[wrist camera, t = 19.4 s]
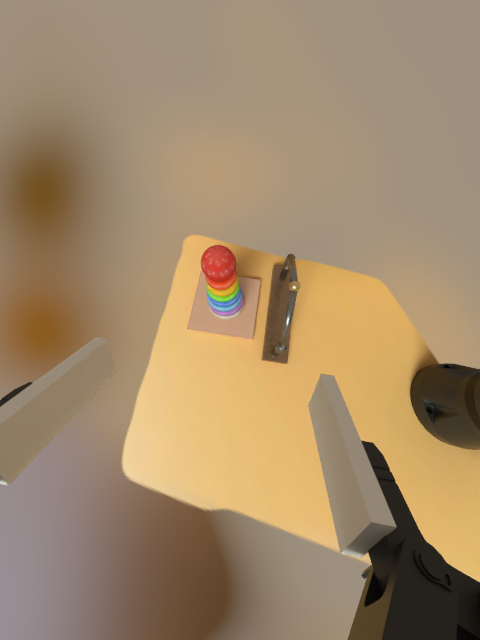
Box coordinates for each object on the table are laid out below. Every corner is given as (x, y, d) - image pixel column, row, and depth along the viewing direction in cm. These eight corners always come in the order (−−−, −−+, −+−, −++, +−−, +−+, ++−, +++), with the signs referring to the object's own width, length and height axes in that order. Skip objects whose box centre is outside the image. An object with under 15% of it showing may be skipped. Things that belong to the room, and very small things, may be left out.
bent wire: (285, 363, 43) (307, 354, 30) (261, 360, 43) (273, 349, 30) (293, 271, 49) (314, 229, 36) (272, 268, 50) (286, 225, 36)
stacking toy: (216, 282, 47) (204, 220, 29) (249, 294, 46) (257, 237, 28) (202, 313, 45) (179, 266, 27) (236, 326, 44) (237, 286, 26)
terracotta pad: (260, 281, 48) (260, 279, 47) (252, 339, 44) (252, 338, 43) (201, 273, 49) (201, 271, 48) (188, 329, 45) (187, 328, 44)
